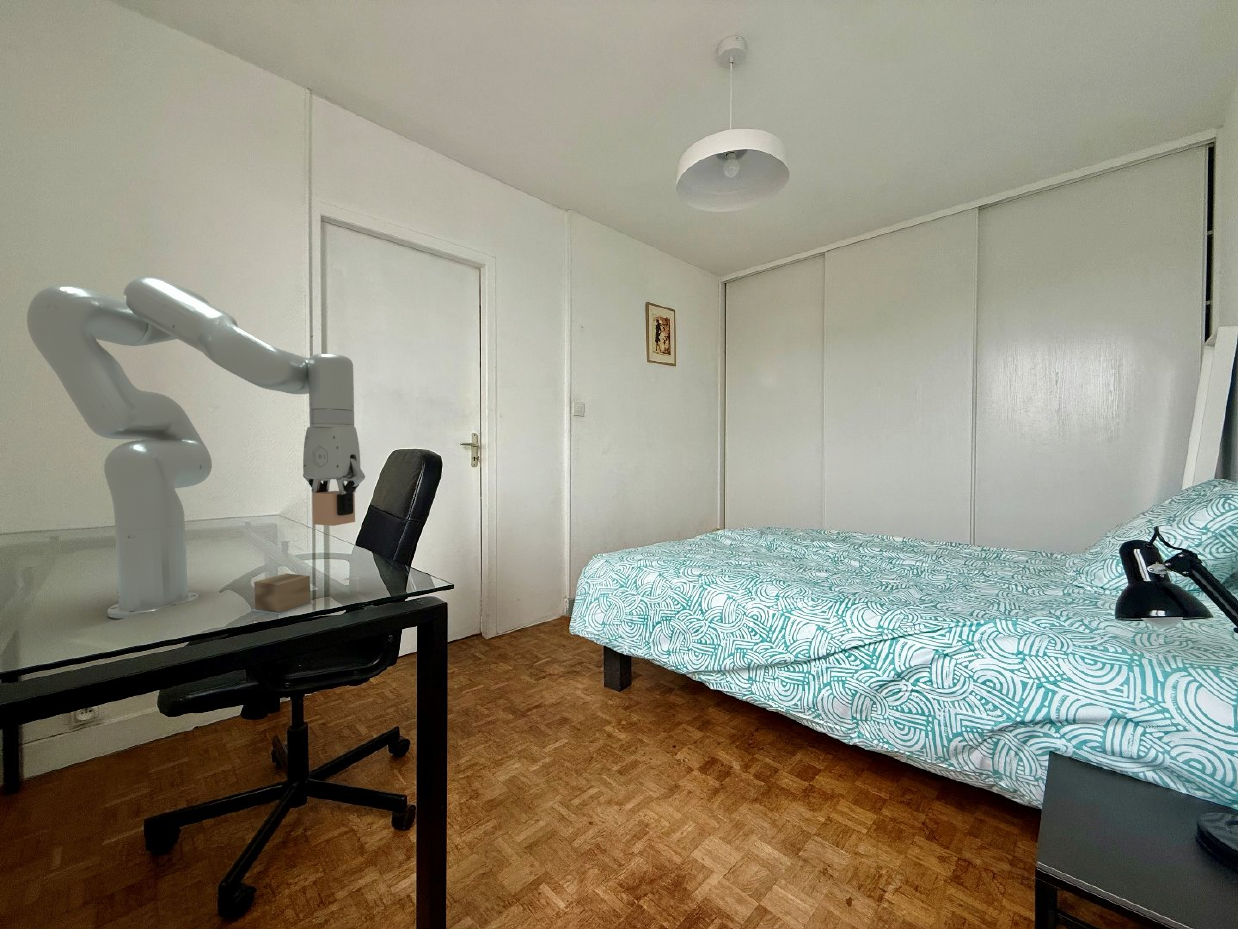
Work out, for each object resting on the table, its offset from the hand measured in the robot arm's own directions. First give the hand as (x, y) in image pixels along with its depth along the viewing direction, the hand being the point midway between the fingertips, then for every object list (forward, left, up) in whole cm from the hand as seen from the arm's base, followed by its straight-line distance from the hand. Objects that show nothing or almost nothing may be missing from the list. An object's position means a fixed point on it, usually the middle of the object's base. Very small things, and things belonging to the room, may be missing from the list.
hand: (334, 512), depth 97 cm
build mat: (-3, -8, -17) cm, 19 cm away
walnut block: (-3, -8, -16) cm, 18 cm away
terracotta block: (0, 0, -2) cm, 2 cm away
